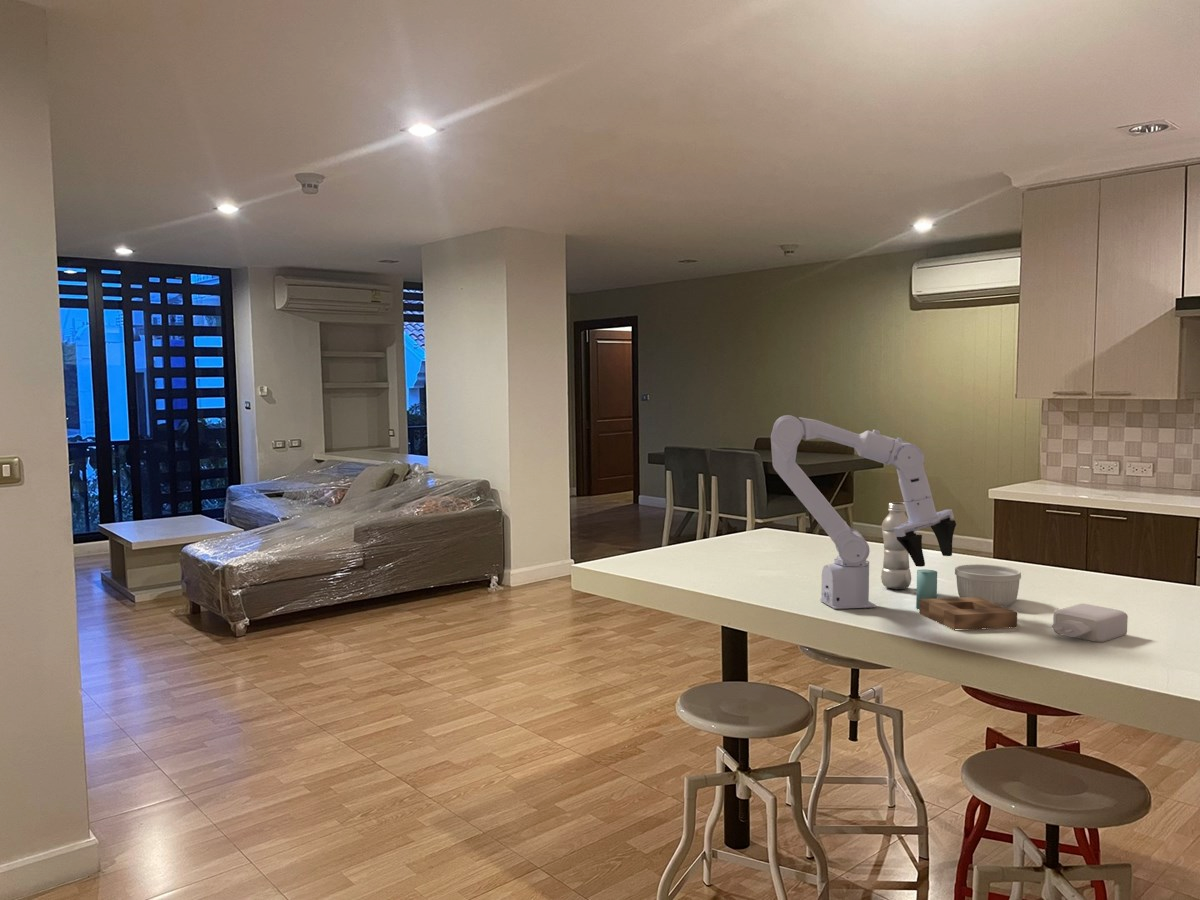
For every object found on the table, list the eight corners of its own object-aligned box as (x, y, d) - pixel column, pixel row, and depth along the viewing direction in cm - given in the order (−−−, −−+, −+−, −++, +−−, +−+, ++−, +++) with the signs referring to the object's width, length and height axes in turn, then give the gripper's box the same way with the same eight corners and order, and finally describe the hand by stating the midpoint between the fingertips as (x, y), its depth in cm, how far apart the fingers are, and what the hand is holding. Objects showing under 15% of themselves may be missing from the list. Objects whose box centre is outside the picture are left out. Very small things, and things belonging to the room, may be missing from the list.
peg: (922, 611, 177) (923, 573, 177) (912, 606, 181) (913, 569, 181) (940, 610, 178) (941, 572, 177) (930, 606, 182) (930, 569, 181)
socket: (954, 630, 163) (954, 614, 162) (919, 613, 175) (919, 599, 175) (1016, 627, 164) (1017, 612, 164) (977, 611, 177) (978, 596, 177)
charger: (1035, 638, 158) (1076, 626, 166) (1087, 650, 150) (1127, 636, 159) (1036, 613, 158) (1077, 602, 166) (1087, 623, 150) (1127, 611, 159)
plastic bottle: (913, 592, 195) (914, 505, 194) (882, 591, 196) (883, 504, 195) (908, 586, 201) (910, 502, 200) (878, 585, 202) (880, 501, 201)
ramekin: (942, 600, 188) (943, 568, 187) (971, 591, 196) (972, 561, 196) (1003, 611, 177) (1004, 578, 177) (1031, 601, 186) (1032, 570, 186)
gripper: (904, 507, 173) (921, 571, 173) (957, 488, 178) (973, 551, 178) (881, 508, 180) (897, 570, 180) (933, 490, 185) (949, 550, 185)
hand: (934, 560), depth 179 cm, fingers open, 7 cm apart
